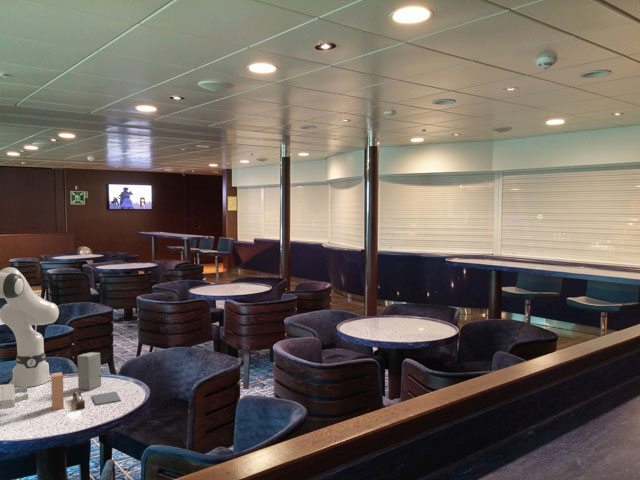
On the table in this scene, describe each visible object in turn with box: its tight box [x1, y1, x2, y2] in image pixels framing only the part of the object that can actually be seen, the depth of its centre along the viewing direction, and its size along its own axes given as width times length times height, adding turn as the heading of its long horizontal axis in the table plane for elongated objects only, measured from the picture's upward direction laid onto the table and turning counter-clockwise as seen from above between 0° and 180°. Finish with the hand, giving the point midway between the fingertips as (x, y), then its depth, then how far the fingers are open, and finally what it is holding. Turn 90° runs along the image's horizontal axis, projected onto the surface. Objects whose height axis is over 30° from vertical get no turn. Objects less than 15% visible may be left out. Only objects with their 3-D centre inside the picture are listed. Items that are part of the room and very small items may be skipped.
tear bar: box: [72, 390, 86, 410], centre depth 221 cm, size 14×3×3 cm, turn 31°
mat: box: [91, 391, 121, 406], centre depth 227 cm, size 12×10×1 cm
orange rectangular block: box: [50, 371, 65, 411], centre depth 216 cm, size 5×4×14 cm
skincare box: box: [76, 351, 102, 391], centre depth 241 cm, size 8×7×16 cm
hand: (27, 393), depth 211 cm, fingers open, 8 cm apart
